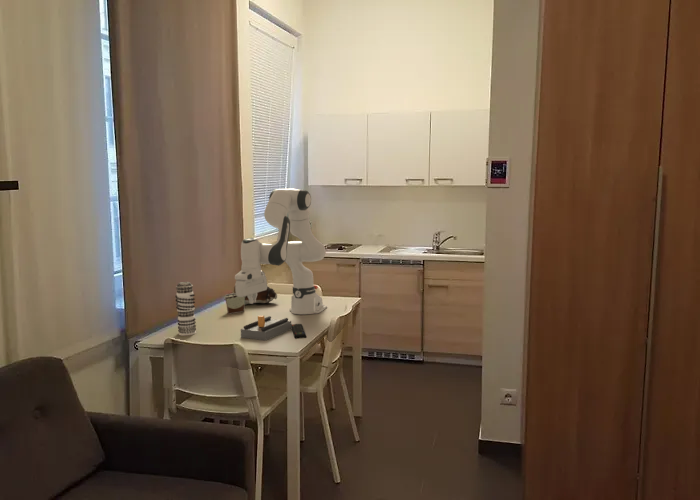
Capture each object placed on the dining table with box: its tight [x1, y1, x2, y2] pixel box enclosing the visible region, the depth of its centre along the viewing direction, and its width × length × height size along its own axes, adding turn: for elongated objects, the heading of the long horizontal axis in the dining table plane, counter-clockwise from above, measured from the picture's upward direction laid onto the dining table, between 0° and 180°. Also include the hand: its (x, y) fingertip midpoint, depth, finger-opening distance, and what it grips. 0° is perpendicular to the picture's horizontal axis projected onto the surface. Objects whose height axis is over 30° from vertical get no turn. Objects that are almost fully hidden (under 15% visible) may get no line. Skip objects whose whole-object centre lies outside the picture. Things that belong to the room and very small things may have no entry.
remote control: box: [291, 323, 307, 339], centre depth 293 cm, size 5×24×1 cm, turn 10°
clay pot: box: [233, 285, 278, 306], centre depth 358 cm, size 15×15×25 cm
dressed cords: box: [243, 315, 289, 331], centre depth 291 cm, size 22×12×2 cm, turn 153°
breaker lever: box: [257, 315, 265, 327], centre depth 287 cm, size 2×2×5 cm
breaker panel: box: [240, 318, 292, 341], centre depth 291 cm, size 22×14×4 cm, turn 153°
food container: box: [223, 292, 246, 315], centre depth 339 cm, size 12×6×10 cm, turn 123°
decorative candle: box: [174, 281, 197, 336], centre depth 294 cm, size 9×9×25 cm
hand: (252, 303), depth 280 cm, fingers closed
